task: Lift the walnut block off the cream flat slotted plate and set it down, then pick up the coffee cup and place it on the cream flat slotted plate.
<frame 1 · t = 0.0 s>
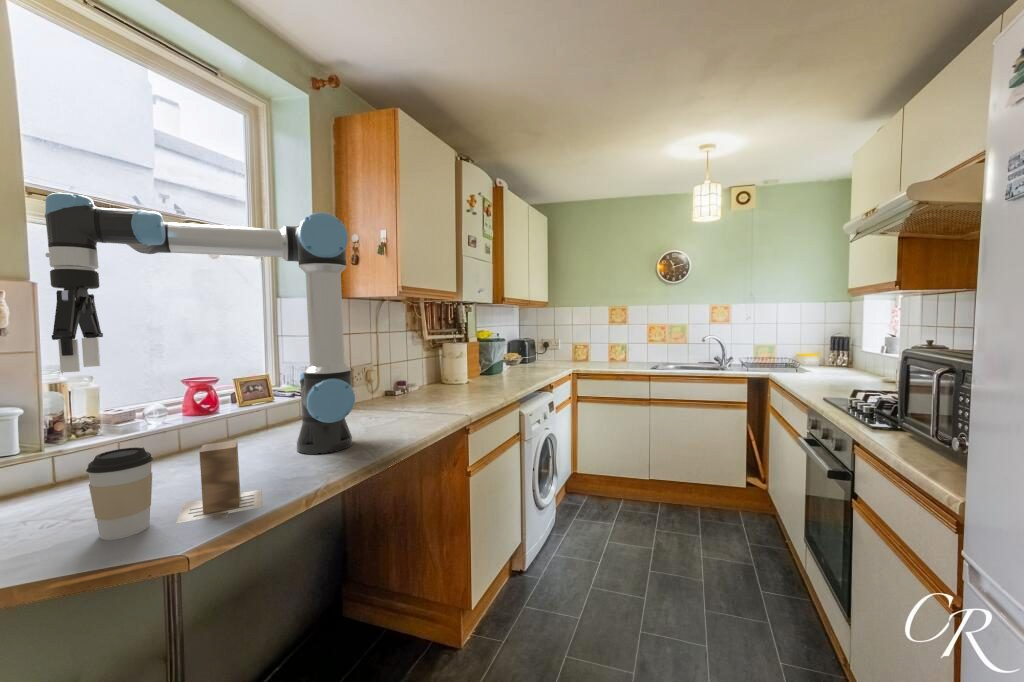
hand: (81, 369, 98), 28 cm above the worktop, tool pointing down, fingers open, 13 cm apart
cream flat slotted plate: (222, 507, 92), on the worktop
coffee cup: (125, 534, 82), on the worktop
walnut block: (222, 504, 92), point 1 cm above the worktop, touching cream flat slotted plate
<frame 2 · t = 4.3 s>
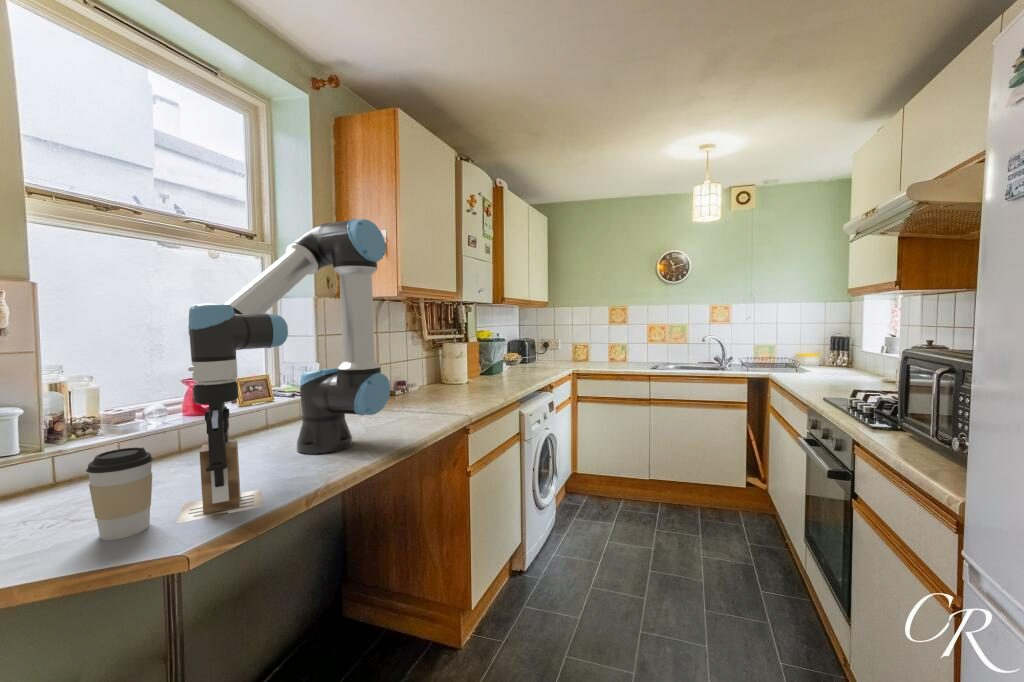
hand: (222, 495, 92), 2 cm above the worktop, tool pointing down, fingers closed on walnut block, 6 cm apart
walnut block: (222, 504, 92), point 1 cm above the worktop, touching cream flat slotted plate, gripper
everything else where it was.
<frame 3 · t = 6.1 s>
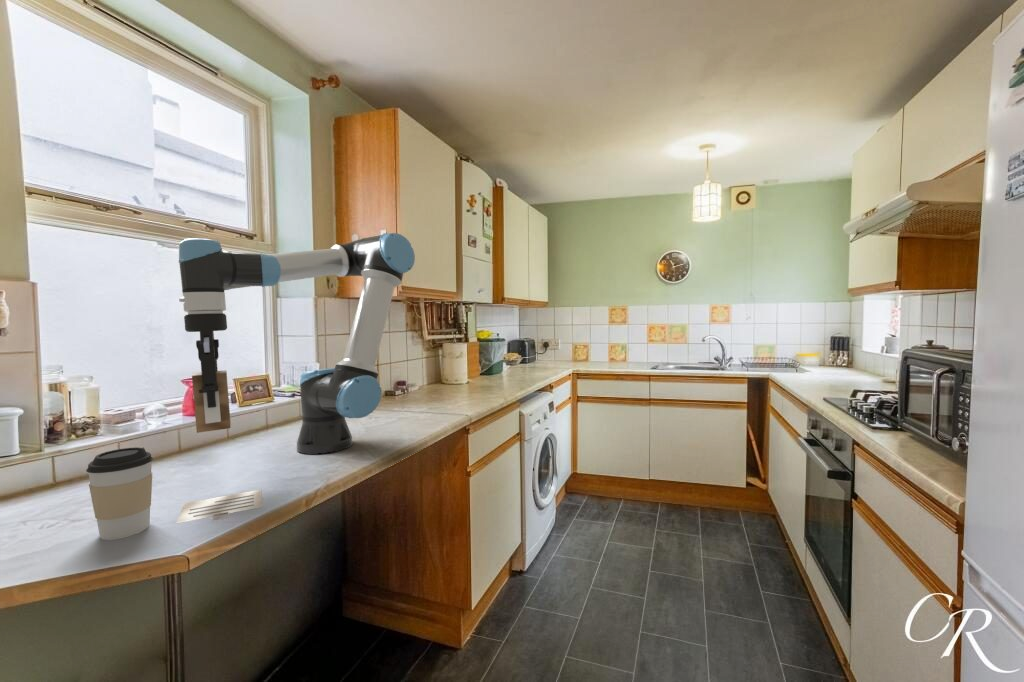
hand: (213, 419, 100), 16 cm above the worktop, tool pointing down, fingers closed on walnut block, 6 cm apart
walnut block: (214, 427, 100), point 14 cm above the worktop, touching gripper
everything else where it was.
when the fingers open (3 cm above the worktop, at t = 8.1 s): walnut block drops 1 cm, on the worktop.
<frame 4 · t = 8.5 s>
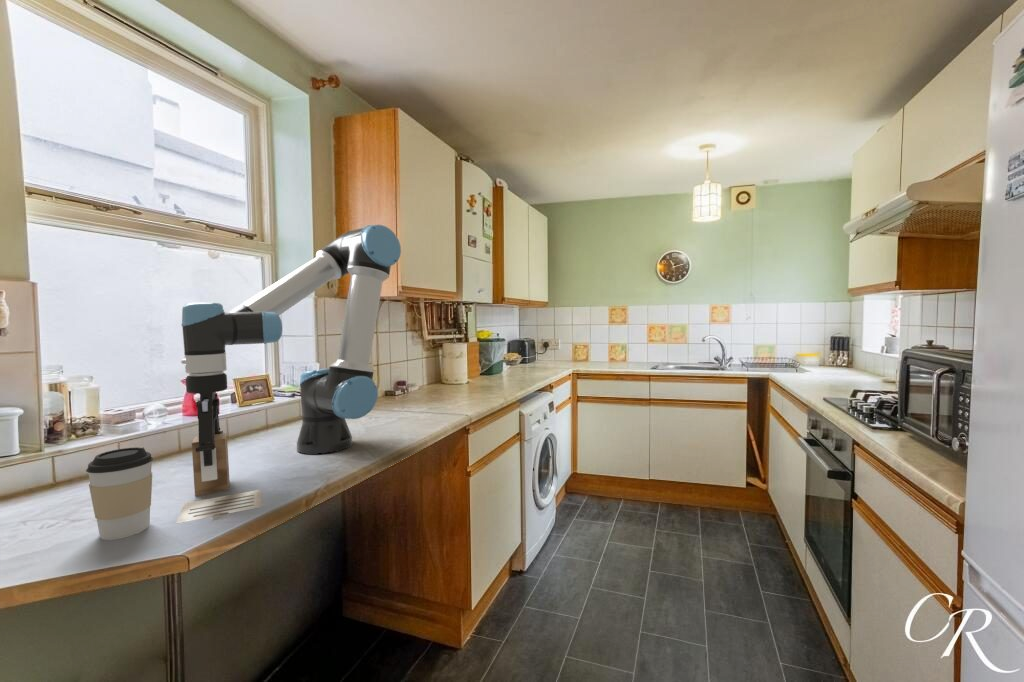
hand: (212, 472, 101), 4 cm above the worktop, tool pointing down, fingers open, 11 cm apart
walnut block: (213, 491, 102), on the worktop
everything else where it was.
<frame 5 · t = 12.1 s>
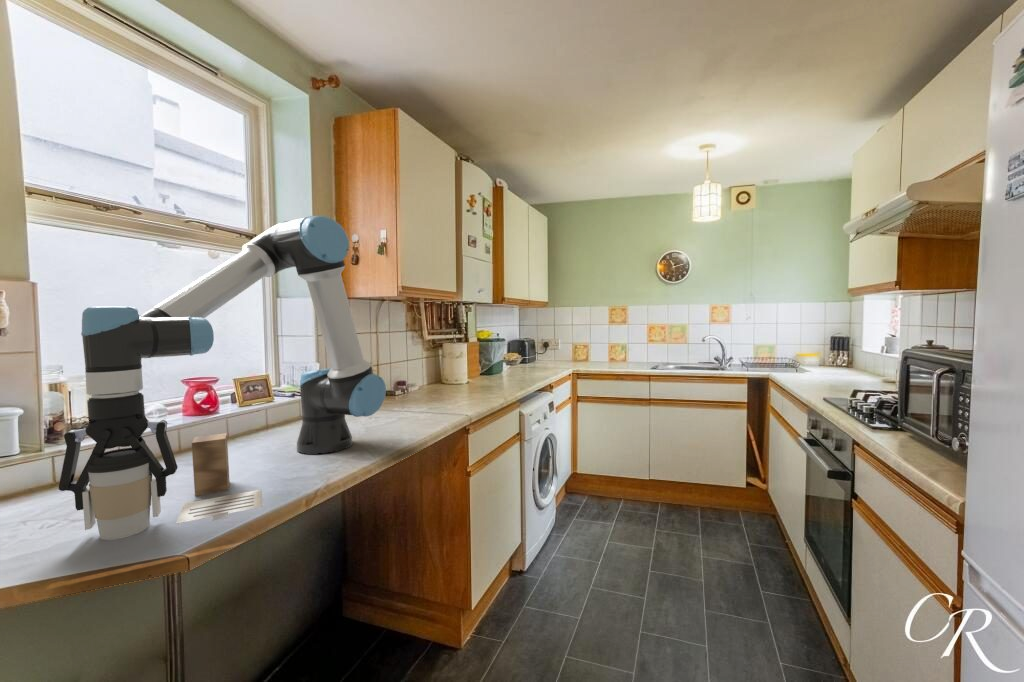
hand: (124, 520, 82), 2 cm above the worktop, tool pointing down, fingers closed on coffee cup, 8 cm apart
coffee cup: (125, 534, 82), on the worktop, touching gripper
everything else where it was.
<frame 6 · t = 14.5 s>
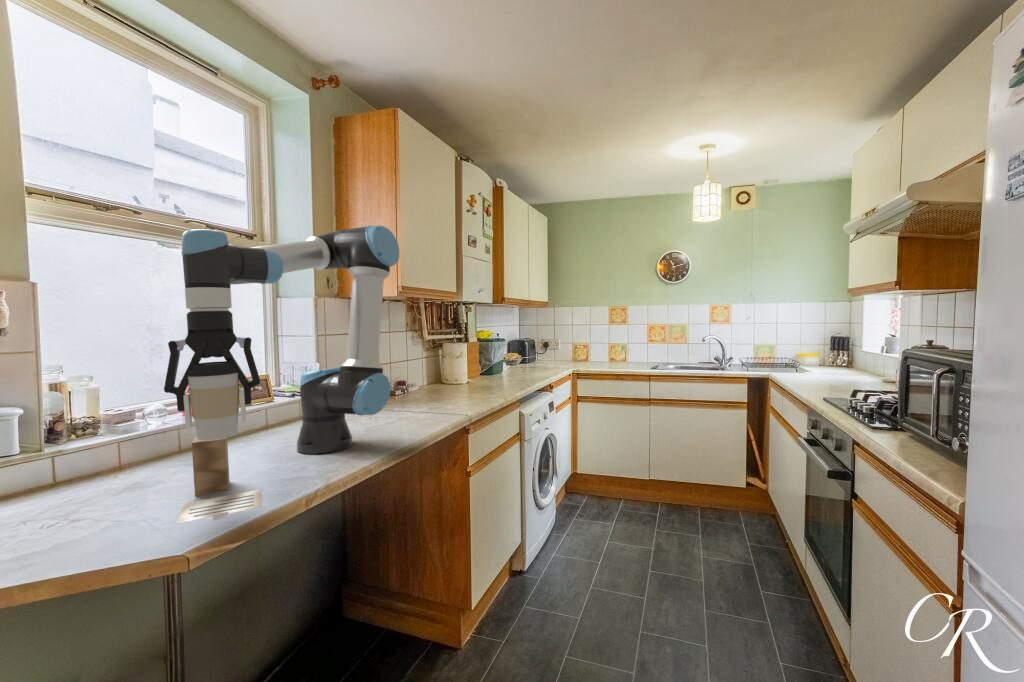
hand: (217, 423, 91), 17 cm above the worktop, tool pointing down, fingers closed on coffee cup, 8 cm apart
coffee cup: (218, 436, 92), point 14 cm above the worktop, touching gripper
everything else where it was.
when the fingers open (4 cm above the worktop, at t = 17.0 s): coffee cup drops 1 cm, resting on cream flat slotted plate.
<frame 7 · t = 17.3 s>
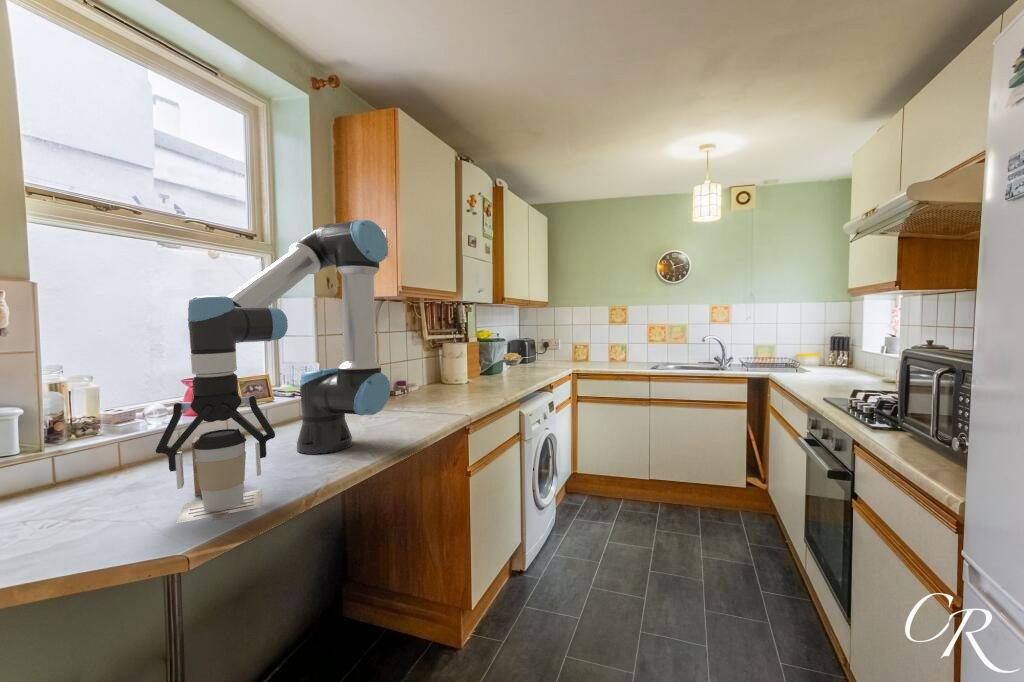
hand: (221, 480, 92), 6 cm above the worktop, tool pointing down, fingers open, 13 cm apart
coffee cup: (224, 505, 92), resting on cream flat slotted plate
everything else where it was.
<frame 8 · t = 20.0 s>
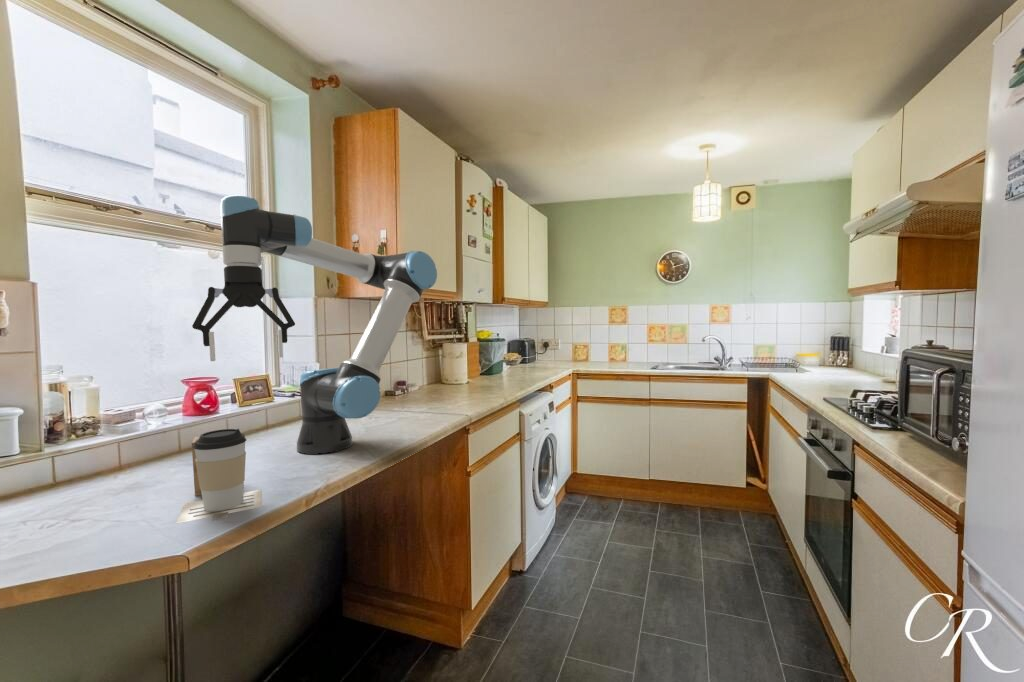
hand: (248, 359, 106), 29 cm above the worktop, tool pointing down, fingers open, 13 cm apart
nothing on the worktop moved.
at the end: coffee cup inside the target area on the cream flat slotted plate (0.2 cm from its centre), point 0.3 cm above the cream flat slotted plate's base; coffee cup tilted 0°; walnut block moved 12.3 cm from its start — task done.
